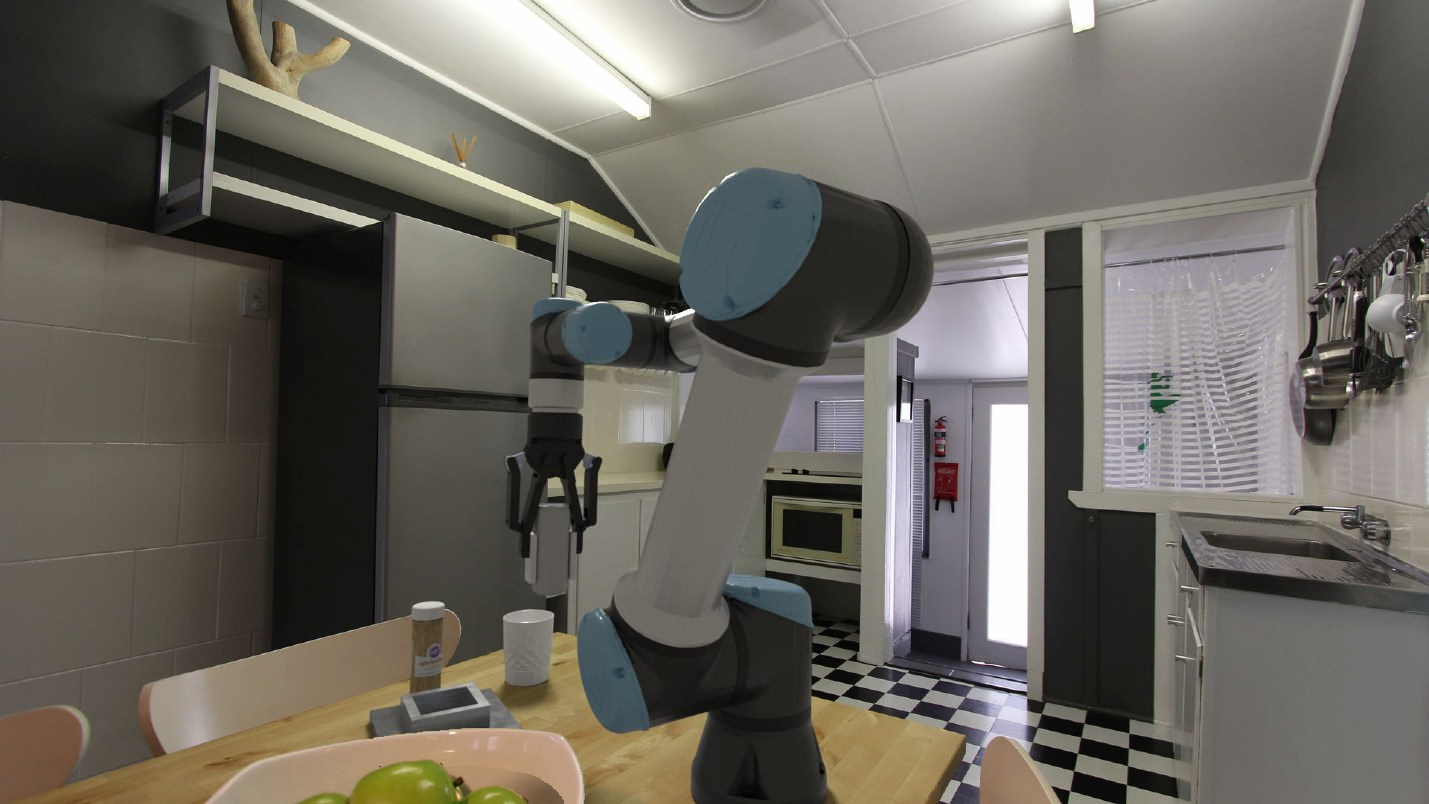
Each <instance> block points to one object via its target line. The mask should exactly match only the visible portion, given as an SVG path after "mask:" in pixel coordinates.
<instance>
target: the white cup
mask: <svg viewBox="0 0 1429 804" xmlns="http://www.w3.org/2000/svg"><path fill="white" fill-rule="evenodd" d="M554 621H555V614H554V612H552V611H550V610H549V611H548V610H543V609H523V610H516V611H512V612H509V613H506V614H504V615H503V617H502V622H503V623H502V625H503V629H502V630H503V631H502V633H503V638H502V639H503V640H502V641H503V663H504V681H505V683H506V684H508V685H510V686H514V687H533V686H536V685H540V684H542V683H545V682H546V681H548V679H549V677H550V664H551V663H550V662H551V658H552V648H553V637H554Z"/></svg>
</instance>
